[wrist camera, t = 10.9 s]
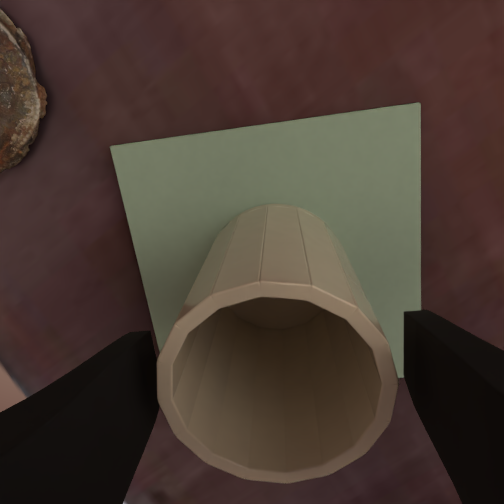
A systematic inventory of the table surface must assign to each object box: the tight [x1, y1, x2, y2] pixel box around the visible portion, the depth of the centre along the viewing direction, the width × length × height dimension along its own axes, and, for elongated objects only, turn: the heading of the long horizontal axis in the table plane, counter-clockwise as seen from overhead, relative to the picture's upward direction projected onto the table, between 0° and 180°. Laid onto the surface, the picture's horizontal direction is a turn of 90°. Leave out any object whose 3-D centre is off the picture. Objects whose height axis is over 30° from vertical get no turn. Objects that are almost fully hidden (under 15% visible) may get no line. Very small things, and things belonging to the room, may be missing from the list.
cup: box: [156, 204, 399, 484], centre depth 13 cm, size 6×6×8 cm
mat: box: [110, 103, 421, 378], centre depth 17 cm, size 12×12×1 cm
